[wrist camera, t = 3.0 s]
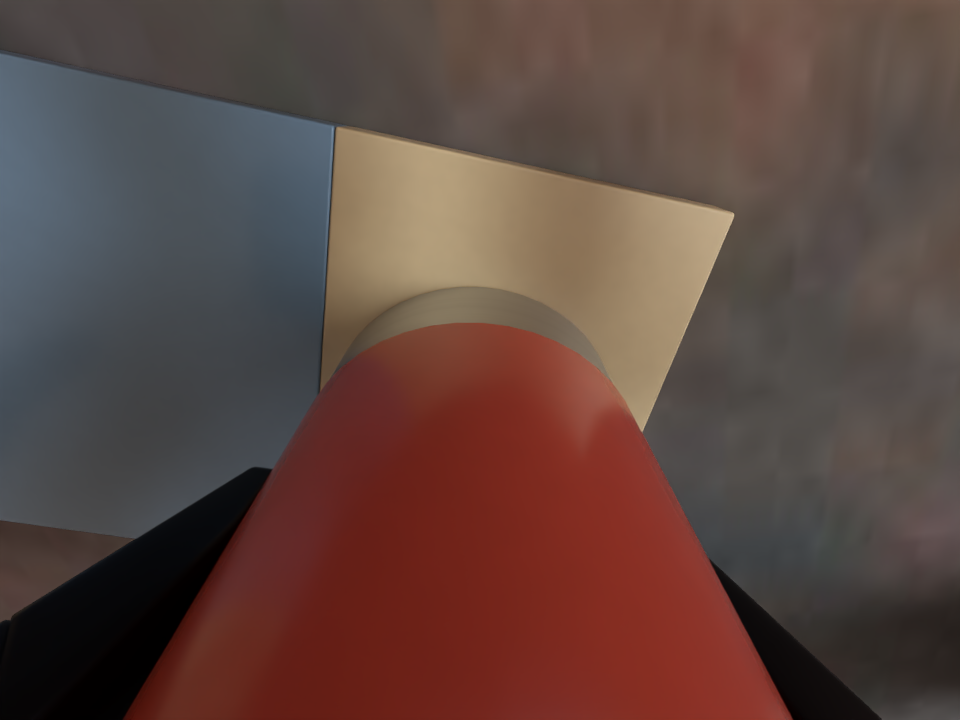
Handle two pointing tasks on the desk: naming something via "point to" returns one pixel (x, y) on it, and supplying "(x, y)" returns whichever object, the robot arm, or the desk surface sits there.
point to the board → (267, 278)
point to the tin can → (463, 548)
